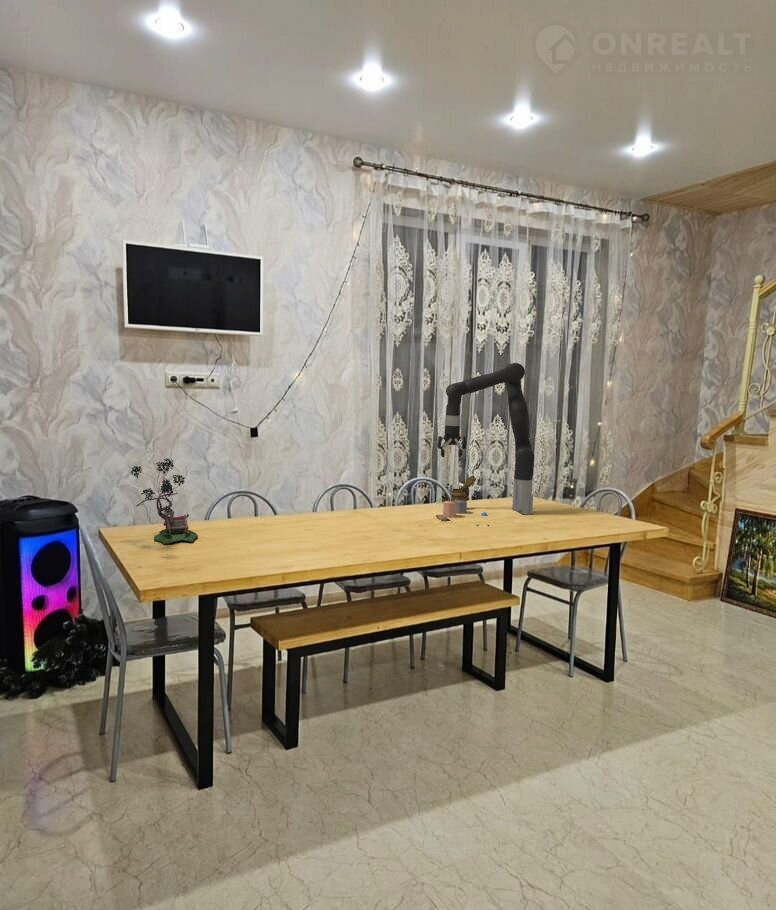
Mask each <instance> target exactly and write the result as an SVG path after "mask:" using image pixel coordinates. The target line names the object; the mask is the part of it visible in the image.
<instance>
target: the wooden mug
mask: <svg viewBox="0 0 776 910" xmlns="http://www.w3.org/2000/svg"><path fill="white" fill-rule="evenodd" d="M474 482H475V476H474V475H470V476H468V477H467V478H466V479H465V482H464V487H462V488H452V490H451V492H450V495H451V496H450V501H455V500H464V501H467V502H468V499H469V496H470V489H469V487H470V488H471V486H472V485H473V483H474Z"/></svg>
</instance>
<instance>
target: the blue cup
mask: <svg viewBox="0 0 776 910" xmlns="http://www.w3.org/2000/svg"><path fill="white" fill-rule="evenodd" d="M455 502H457V510H456V515H458V514H459V515H464V514H467V509H468V508H467V507H468V500H467V501H464V500H455Z"/></svg>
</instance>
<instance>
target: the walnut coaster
mask: <svg viewBox="0 0 776 910" xmlns="http://www.w3.org/2000/svg"><path fill="white" fill-rule="evenodd" d="M435 517H437V518H436V519H438V520H439V521H440V520H441V521H452V520H451V519H450V518H448V517H447V518H445V517H443V514H435ZM441 521H440V522H441Z"/></svg>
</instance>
